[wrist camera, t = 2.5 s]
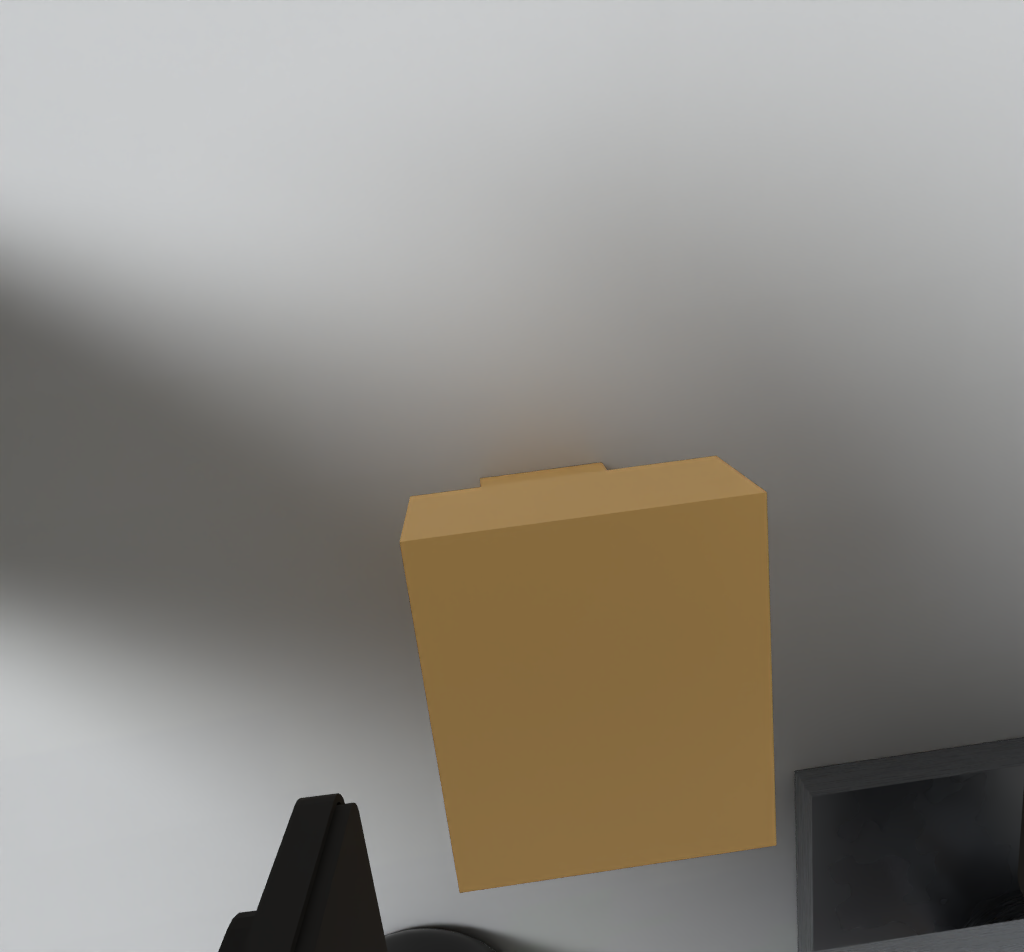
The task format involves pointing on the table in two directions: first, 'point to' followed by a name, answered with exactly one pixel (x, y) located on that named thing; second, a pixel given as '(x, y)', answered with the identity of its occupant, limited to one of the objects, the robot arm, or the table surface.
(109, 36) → the table surface
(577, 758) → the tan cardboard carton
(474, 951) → the supplement bottle
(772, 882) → the table surface
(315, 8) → the table surface
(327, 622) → the table surface
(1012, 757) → the gray tiered stand
